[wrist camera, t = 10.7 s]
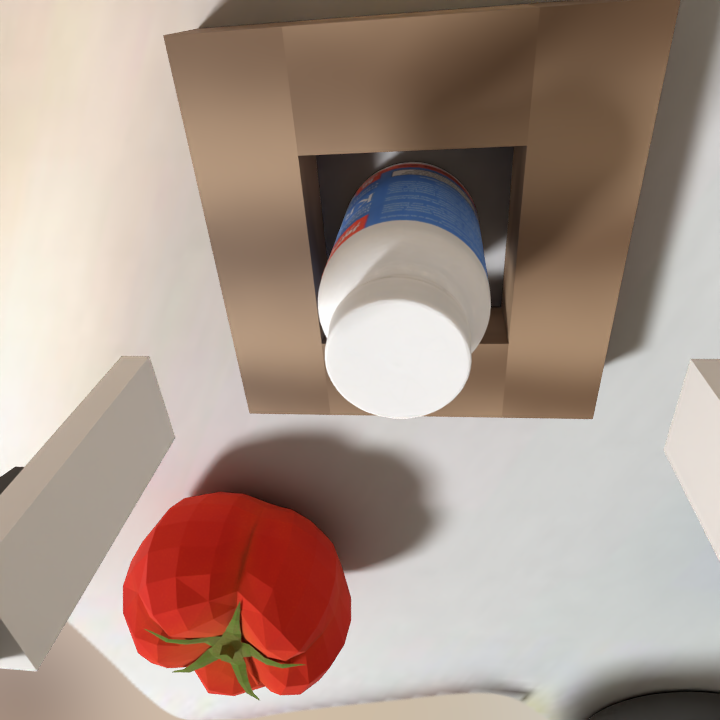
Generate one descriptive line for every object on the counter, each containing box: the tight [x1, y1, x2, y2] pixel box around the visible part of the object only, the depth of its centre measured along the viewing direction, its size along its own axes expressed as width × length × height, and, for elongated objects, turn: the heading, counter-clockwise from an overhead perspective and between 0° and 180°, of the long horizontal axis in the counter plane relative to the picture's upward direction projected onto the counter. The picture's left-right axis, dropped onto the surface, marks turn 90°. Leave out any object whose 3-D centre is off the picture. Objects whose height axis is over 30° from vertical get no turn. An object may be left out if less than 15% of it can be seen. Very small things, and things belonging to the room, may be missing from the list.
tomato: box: [123, 492, 351, 701], centre depth 32 cm, size 13×12×8 cm
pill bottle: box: [318, 162, 491, 419], centre depth 19 cm, size 6×5×10 cm
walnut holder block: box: [163, 0, 680, 419], centre depth 22 cm, size 15×15×3 cm
